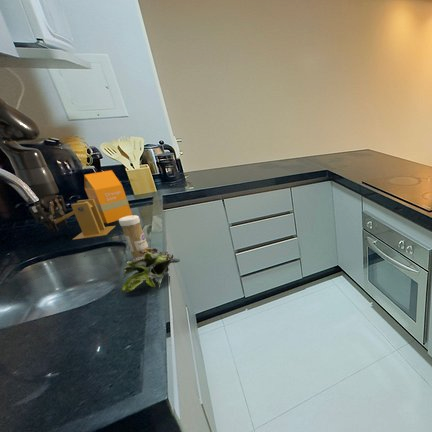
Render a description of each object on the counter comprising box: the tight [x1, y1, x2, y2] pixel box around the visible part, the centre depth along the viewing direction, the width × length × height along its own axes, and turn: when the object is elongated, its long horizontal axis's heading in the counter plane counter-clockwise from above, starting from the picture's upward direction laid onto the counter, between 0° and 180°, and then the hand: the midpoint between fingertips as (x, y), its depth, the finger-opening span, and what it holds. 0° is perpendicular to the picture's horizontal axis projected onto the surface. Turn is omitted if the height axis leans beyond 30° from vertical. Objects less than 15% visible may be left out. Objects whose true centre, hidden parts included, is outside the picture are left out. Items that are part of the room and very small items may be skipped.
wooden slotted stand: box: [70, 198, 116, 241], centre depth 105 cm, size 9×9×13 cm
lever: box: [54, 201, 93, 225], centre depth 102 cm, size 12×5×2 cm, turn 113°
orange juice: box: [83, 169, 133, 224], centre depth 117 cm, size 8×9×20 cm
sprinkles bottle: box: [118, 214, 150, 261], centre depth 88 cm, size 5×5×14 cm
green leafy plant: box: [121, 247, 181, 294], centre depth 76 cm, size 11×11×12 cm
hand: (58, 228), depth 102 cm, fingers closed on lever, 5 cm apart
